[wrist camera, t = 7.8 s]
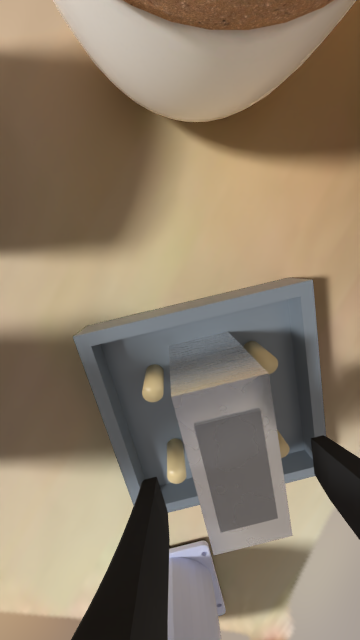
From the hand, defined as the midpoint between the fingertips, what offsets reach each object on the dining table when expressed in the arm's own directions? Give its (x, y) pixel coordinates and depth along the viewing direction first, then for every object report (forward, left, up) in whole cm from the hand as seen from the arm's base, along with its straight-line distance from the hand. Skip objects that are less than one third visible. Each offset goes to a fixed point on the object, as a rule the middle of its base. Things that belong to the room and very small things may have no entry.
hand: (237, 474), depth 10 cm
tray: (0, 0, -7) cm, 7 cm away
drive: (0, 0, -6) cm, 6 cm away
